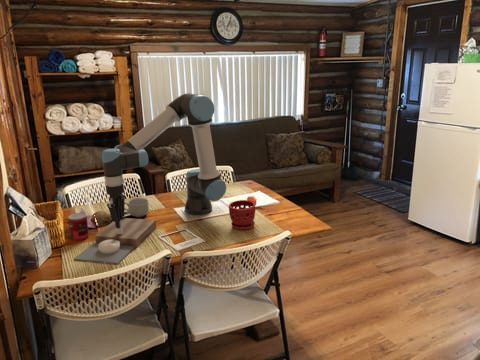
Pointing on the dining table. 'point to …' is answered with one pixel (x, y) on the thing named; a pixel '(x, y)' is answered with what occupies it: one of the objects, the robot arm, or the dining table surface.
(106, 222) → the coconut
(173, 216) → the dining table surface
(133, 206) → the teacup
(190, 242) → the photo frame
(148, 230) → the serving board
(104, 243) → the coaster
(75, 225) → the canned food
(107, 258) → the mat
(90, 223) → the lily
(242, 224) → the plant pot
